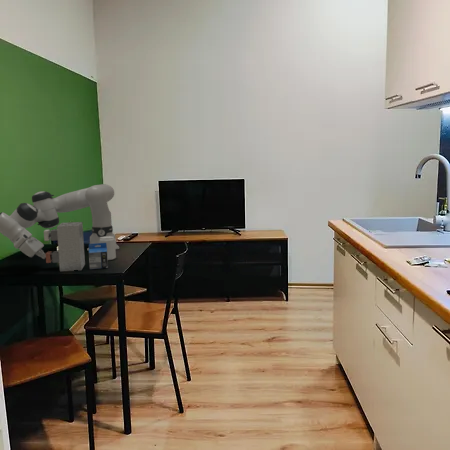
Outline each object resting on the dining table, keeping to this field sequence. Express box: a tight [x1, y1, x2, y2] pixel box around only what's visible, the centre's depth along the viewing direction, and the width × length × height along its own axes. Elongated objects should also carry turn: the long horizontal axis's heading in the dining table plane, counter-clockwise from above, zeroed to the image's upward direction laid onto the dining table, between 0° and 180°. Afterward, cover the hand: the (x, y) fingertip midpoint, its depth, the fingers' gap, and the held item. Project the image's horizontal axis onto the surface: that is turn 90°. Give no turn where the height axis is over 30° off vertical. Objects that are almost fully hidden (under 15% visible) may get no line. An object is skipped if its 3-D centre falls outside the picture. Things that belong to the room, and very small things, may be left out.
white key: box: [43, 229, 51, 242], centre depth 229 cm, size 5×6×5 cm
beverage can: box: [100, 236, 117, 261], centre depth 251 cm, size 8×8×12 cm
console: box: [50, 221, 86, 272], centre depth 231 cm, size 14×14×22 cm
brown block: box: [45, 250, 53, 264], centre depth 230 cm, size 5×6×5 cm
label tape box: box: [88, 243, 109, 270], centre depth 230 cm, size 9×4×12 cm, turn 104°
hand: (45, 257), depth 230 cm, fingers closed, pressing on brown block
